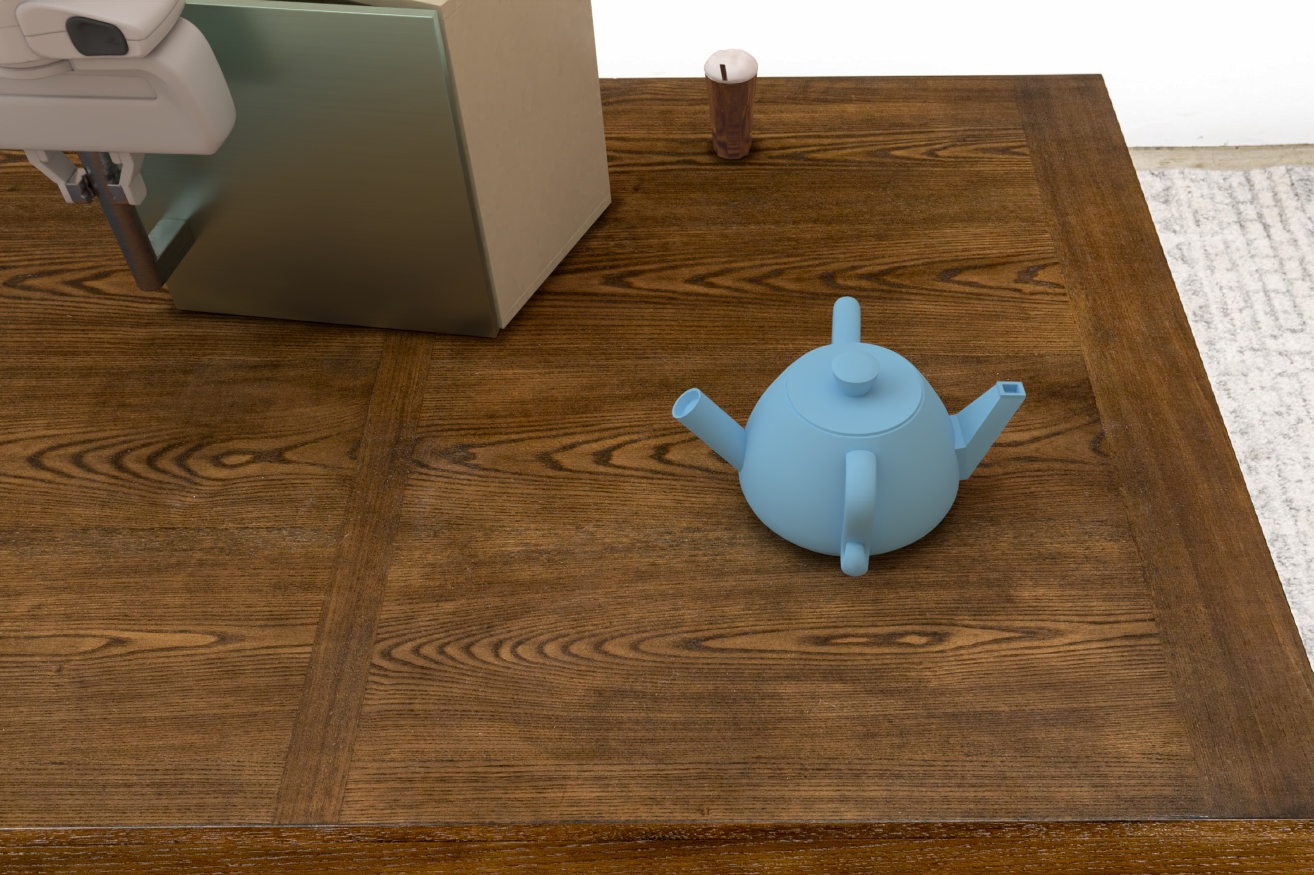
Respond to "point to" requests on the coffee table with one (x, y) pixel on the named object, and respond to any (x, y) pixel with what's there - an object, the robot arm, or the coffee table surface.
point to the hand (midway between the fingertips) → (108, 199)
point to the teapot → (852, 446)
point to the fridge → (524, 129)
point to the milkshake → (731, 100)
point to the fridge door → (317, 178)
